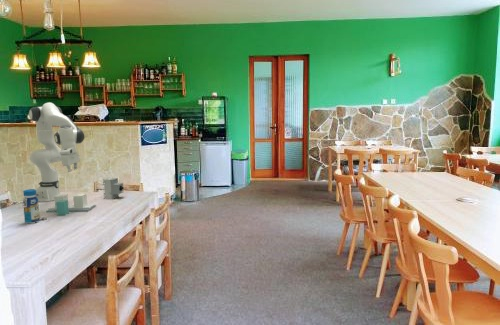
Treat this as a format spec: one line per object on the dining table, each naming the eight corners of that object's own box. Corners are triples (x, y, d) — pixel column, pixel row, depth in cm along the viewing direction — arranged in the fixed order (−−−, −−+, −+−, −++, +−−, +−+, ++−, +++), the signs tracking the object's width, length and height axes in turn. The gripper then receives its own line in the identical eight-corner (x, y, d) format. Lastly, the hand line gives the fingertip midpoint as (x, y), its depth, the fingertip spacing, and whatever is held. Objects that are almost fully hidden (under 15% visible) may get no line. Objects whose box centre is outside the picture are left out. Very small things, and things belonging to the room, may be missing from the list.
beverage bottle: (25, 221, 246) (22, 189, 243) (40, 219, 249) (38, 188, 247) (23, 224, 238) (20, 192, 236) (39, 222, 242) (36, 190, 239)
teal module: (57, 215, 258) (56, 202, 257) (61, 213, 264) (60, 200, 263) (65, 215, 258) (63, 201, 257) (68, 213, 264) (67, 199, 263)
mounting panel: (46, 212, 267) (44, 197, 265) (55, 207, 281) (54, 193, 279) (88, 211, 267) (86, 196, 266) (95, 206, 281) (94, 192, 280)
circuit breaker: (120, 199, 303) (119, 179, 301) (104, 198, 306) (102, 179, 304) (125, 197, 310) (124, 178, 308) (109, 196, 313) (108, 177, 311)
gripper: (71, 148, 274) (74, 168, 276) (58, 152, 253) (61, 173, 256) (80, 147, 274) (83, 167, 276) (68, 151, 254) (71, 172, 256)
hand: (72, 170), depth 266 cm, fingers open, 8 cm apart
